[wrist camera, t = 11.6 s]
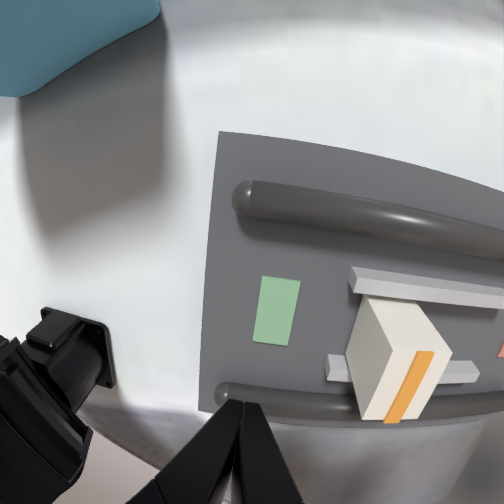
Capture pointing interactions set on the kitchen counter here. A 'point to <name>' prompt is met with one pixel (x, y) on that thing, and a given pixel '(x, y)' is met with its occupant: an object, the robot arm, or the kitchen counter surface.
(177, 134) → the kitchen counter surface
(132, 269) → the kitchen counter surface
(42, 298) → the kitchen counter surface
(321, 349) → the panel
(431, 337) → the knob
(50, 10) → the data package
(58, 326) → the robot arm
